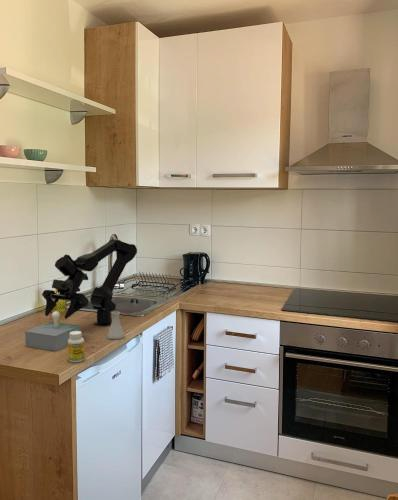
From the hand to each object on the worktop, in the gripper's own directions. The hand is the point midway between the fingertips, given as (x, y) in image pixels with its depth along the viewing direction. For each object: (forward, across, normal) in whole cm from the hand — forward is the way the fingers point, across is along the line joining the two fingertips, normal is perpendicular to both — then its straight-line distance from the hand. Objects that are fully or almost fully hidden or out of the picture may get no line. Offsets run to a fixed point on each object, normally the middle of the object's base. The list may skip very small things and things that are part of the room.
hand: (55, 316), depth 172 cm
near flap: (+2, 0, +5) cm, 5 cm away
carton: (+8, 0, +6) cm, 10 cm away
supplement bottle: (+16, +19, -2) cm, 25 cm away
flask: (-3, +18, +16) cm, 25 cm away
